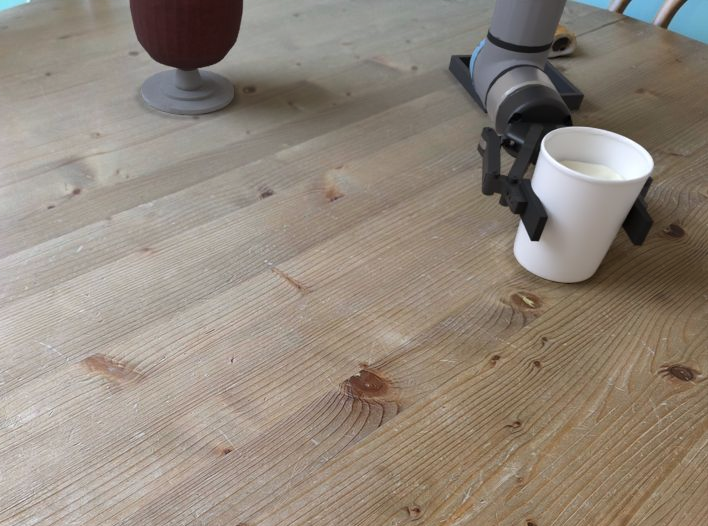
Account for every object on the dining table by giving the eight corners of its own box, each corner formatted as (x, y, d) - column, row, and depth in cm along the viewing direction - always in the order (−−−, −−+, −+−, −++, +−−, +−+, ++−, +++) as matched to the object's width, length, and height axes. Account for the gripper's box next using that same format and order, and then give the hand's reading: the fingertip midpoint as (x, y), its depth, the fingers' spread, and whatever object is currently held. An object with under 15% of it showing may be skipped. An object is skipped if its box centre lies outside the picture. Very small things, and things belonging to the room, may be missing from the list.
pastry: (507, 35, 118) (515, 10, 116) (544, 33, 120) (552, 8, 117) (539, 60, 112) (548, 34, 109) (578, 57, 114) (587, 31, 111)
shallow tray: (535, 66, 110) (539, 52, 109) (579, 108, 101) (584, 94, 100) (448, 68, 109) (451, 55, 107) (484, 112, 99) (488, 98, 98)
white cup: (498, 273, 74) (536, 165, 66) (511, 221, 81) (547, 117, 72) (602, 299, 72) (655, 191, 63) (606, 243, 78) (654, 139, 70)
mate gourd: (120, 80, 102) (107, -85, 88) (212, 64, 106) (214, -95, 92) (164, 131, 92) (158, -45, 78) (264, 111, 97) (274, -59, 83)
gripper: (610, 149, 87) (690, 268, 71) (426, 141, 87) (464, 259, 71) (636, 88, 82) (728, 201, 66) (440, 79, 82) (485, 191, 66)
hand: (591, 231), depth 69 cm, fingers closed on white cup, 9 cm apart
